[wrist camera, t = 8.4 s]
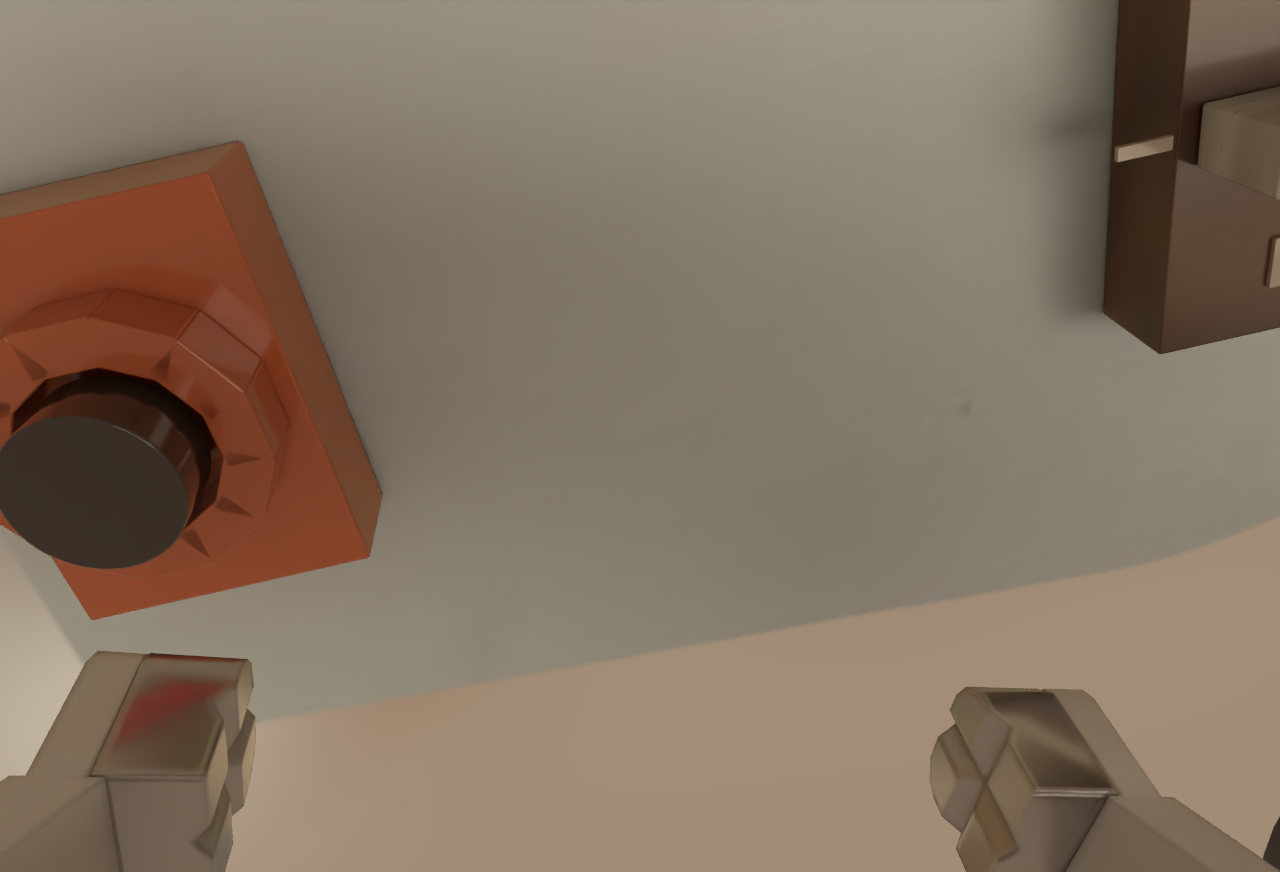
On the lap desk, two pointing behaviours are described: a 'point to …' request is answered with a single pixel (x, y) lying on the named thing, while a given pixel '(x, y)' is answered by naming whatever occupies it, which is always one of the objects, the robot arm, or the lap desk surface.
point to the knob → (1243, 140)
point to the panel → (1188, 176)
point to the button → (104, 473)
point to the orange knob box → (188, 364)
